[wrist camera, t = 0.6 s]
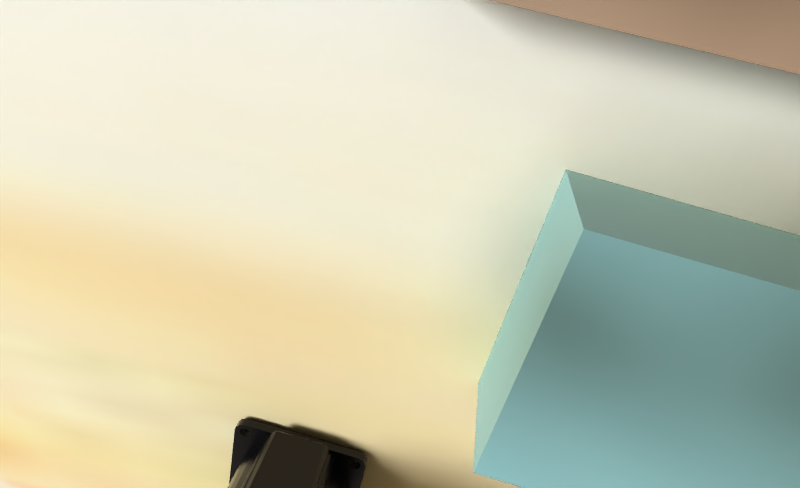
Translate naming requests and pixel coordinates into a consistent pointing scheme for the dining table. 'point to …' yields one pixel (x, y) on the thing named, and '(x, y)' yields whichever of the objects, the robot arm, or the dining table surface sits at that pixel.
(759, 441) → the teal block
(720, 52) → the brown bar
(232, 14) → the dining table surface
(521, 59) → the dining table surface
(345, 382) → the dining table surface
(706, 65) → the dining table surface
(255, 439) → the robot arm
